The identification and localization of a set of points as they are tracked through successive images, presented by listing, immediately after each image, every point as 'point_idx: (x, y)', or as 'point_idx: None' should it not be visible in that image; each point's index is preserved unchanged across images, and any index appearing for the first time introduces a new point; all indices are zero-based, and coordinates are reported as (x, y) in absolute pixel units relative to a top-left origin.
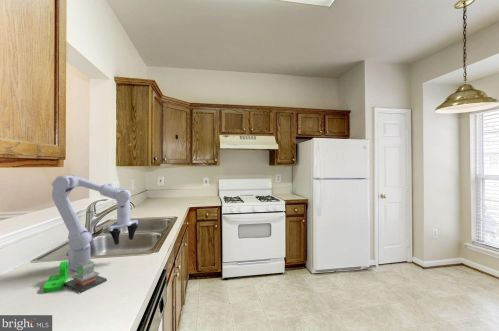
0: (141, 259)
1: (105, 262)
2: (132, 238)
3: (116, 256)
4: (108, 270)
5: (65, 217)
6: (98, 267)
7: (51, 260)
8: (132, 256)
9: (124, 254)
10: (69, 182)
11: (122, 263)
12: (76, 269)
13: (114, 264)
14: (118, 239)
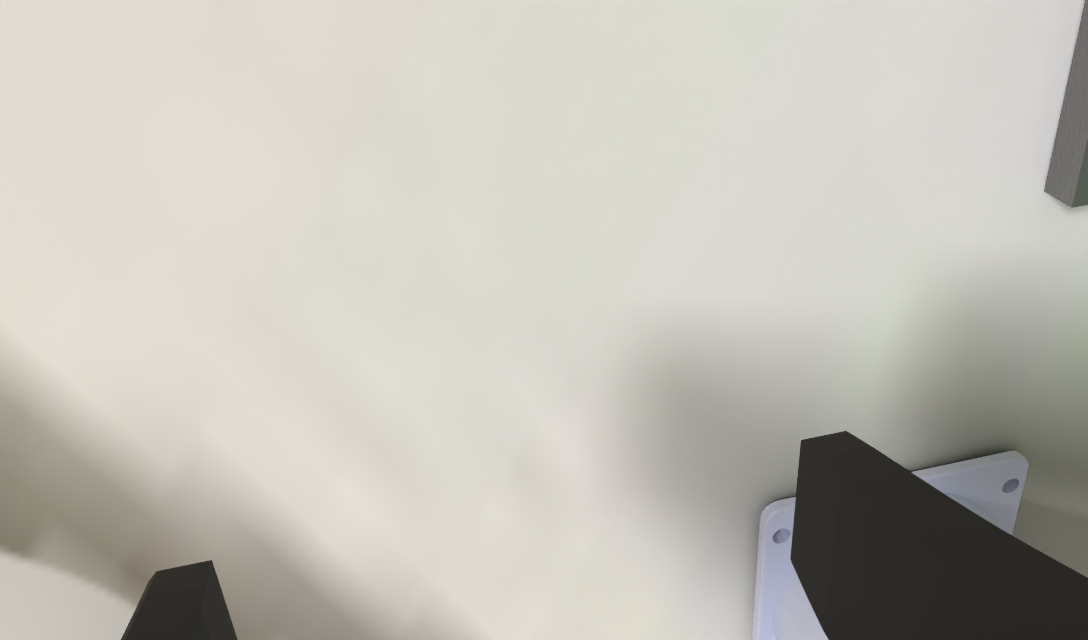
0: (18, 43)
1: (611, 486)
2: (170, 599)
3: (346, 604)
4: (808, 100)
5: None
6: (794, 373)
7: None
8: (111, 394)
9: None
10: None
11: (461, 202)
12: (1005, 500)
13: (580, 283)
14: (952, 542)
